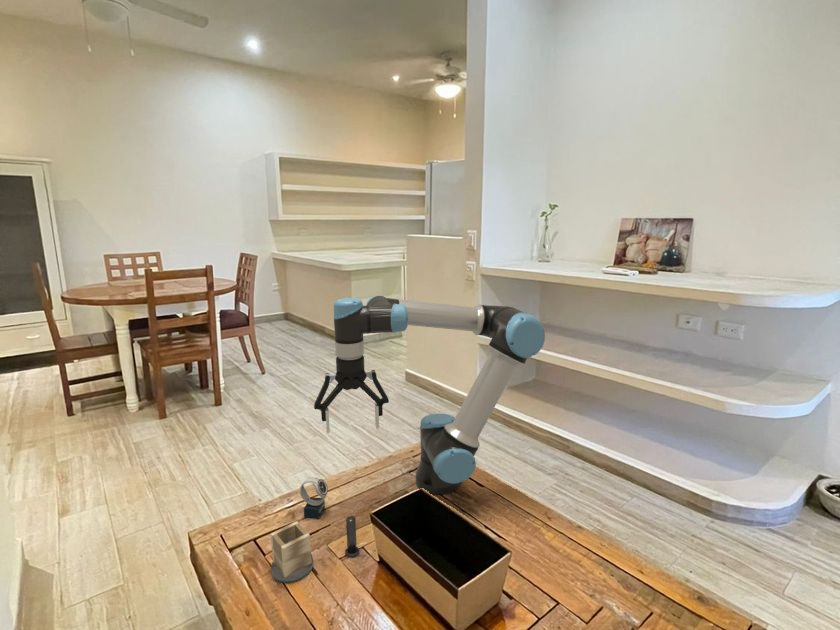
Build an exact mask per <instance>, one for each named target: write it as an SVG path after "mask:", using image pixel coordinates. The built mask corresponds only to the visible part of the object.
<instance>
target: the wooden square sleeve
mask: <svg viewBox="0 0 840 630" xmlns="http://www.w3.org/2000/svg"><path fill="white" fill-rule="evenodd" d="M288 538H296V539H295V540H293V541H291V542H289V543H287V544H285V541H286V540H287V539H288ZM270 542H271V543H270V544H271V551H272V553H271V554H272V562H274V563H275V565H276V566H277V567H278V569H279V570H280V571H281V573H282V574H283V575H284V577H285V578H286V577H287V576H289V575H291V574H293V573H295V572H296V571H298V570H300V569H302V568H303V567H305V566H307V565H309V564H311V563H312V561H311V554H312V548H311V546H312V545H311V535H310V533H308V532H307V530H306V529H305V528H304V527H303V526H302V525H301V524H300V523H299V522H298V521H293V522H291V523H290V524H288V525H286V526H284V527H281V528H279V529H278V530H275V531H274V532H271V533H270Z"/></svg>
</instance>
